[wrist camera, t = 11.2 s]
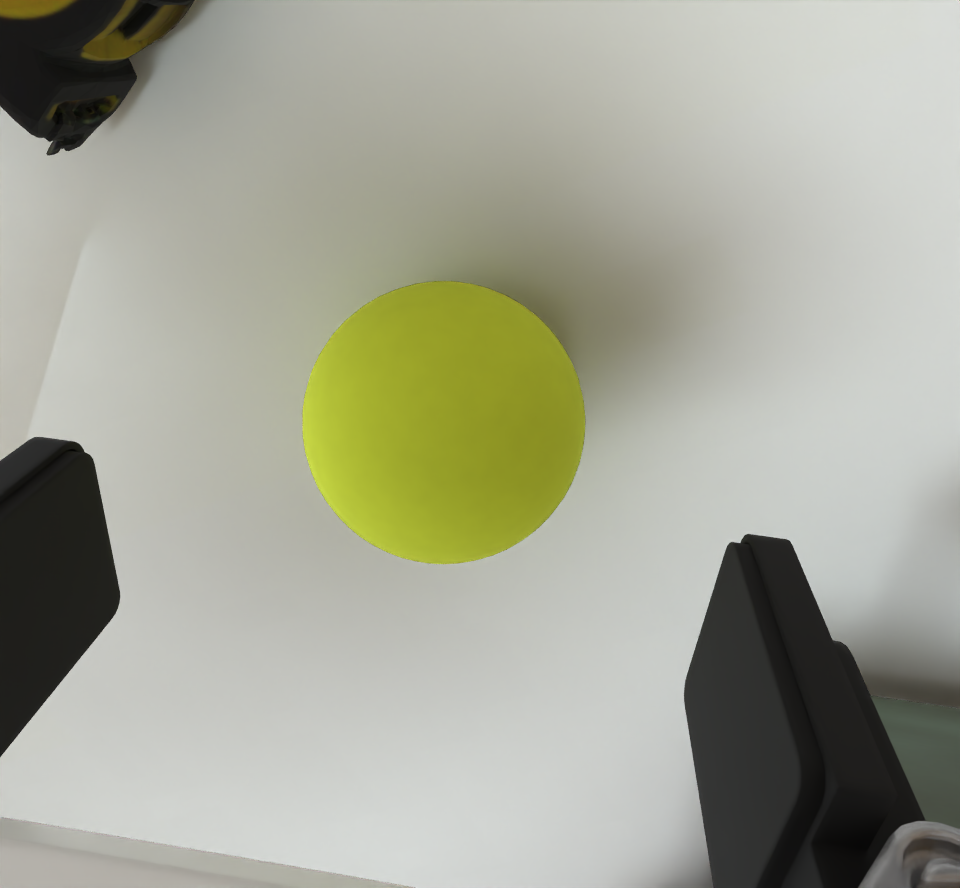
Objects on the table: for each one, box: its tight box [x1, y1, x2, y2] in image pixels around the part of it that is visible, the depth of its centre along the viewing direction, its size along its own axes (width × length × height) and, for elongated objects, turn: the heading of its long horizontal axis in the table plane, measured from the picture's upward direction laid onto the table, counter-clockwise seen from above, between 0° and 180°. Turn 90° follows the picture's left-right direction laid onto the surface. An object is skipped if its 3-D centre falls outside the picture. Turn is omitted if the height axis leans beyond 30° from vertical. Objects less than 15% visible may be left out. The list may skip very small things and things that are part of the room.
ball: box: [303, 281, 585, 564], centre depth 16 cm, size 6×6×6 cm
